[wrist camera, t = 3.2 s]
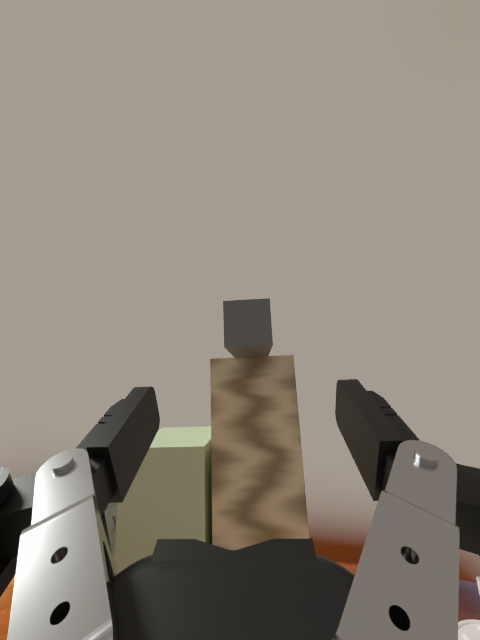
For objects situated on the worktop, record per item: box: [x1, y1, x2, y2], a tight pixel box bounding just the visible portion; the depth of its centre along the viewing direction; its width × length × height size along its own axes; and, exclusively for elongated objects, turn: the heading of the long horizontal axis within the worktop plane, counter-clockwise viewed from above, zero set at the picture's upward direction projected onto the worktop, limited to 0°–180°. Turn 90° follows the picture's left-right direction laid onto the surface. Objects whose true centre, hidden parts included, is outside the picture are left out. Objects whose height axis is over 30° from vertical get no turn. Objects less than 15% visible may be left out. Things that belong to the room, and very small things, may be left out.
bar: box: [223, 299, 273, 358], centre depth 34 cm, size 4×26×4 cm, turn 176°
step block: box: [114, 426, 212, 573], centre depth 34 cm, size 10×14×22 cm
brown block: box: [210, 355, 309, 550], centre depth 35 cm, size 10×16×32 cm, turn 176°
